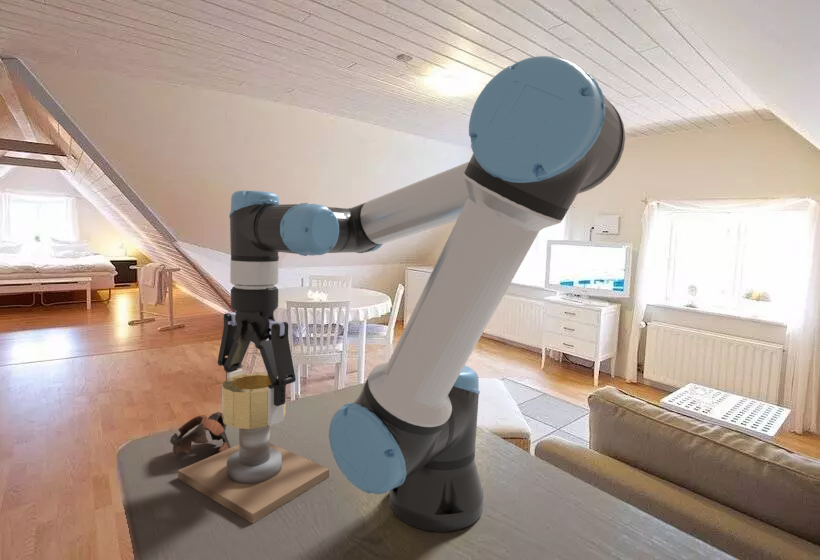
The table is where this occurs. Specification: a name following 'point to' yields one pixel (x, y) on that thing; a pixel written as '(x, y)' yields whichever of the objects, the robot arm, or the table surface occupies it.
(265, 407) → the brass ring
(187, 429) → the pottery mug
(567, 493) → the table surface
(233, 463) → the stand
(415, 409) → the robot arm
